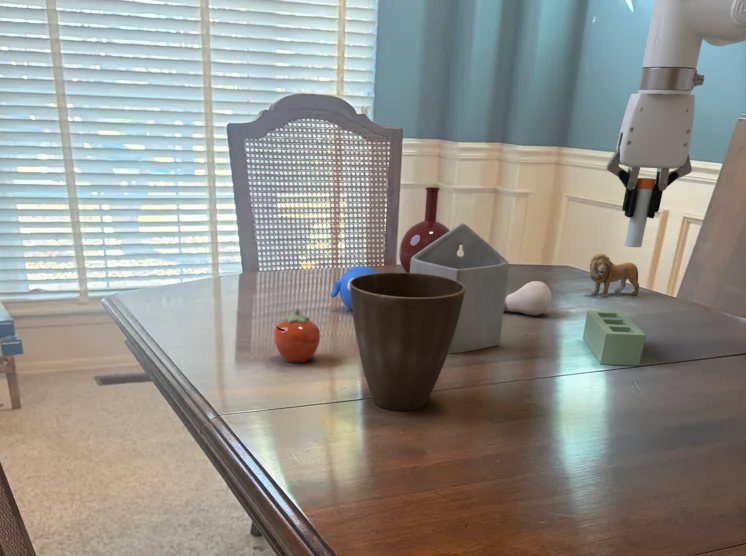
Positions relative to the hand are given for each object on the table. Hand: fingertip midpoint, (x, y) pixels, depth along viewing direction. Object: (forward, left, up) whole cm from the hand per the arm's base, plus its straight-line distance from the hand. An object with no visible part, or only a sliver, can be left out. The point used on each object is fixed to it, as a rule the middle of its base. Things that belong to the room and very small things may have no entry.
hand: (639, 215), depth 123 cm
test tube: (0, 0, -5) cm, 5 cm away
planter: (+28, +5, -21) cm, 36 cm away
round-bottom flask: (+32, -50, -21) cm, 64 cm away
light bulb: (+13, -22, -21) cm, 34 cm away
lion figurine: (-9, -43, -21) cm, 49 cm away
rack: (+1, +3, -21) cm, 21 cm away
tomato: (+53, +16, -21) cm, 59 cm away
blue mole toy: (+45, -17, -21) cm, 53 cm away
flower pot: (+36, +34, -21) cm, 54 cm away
